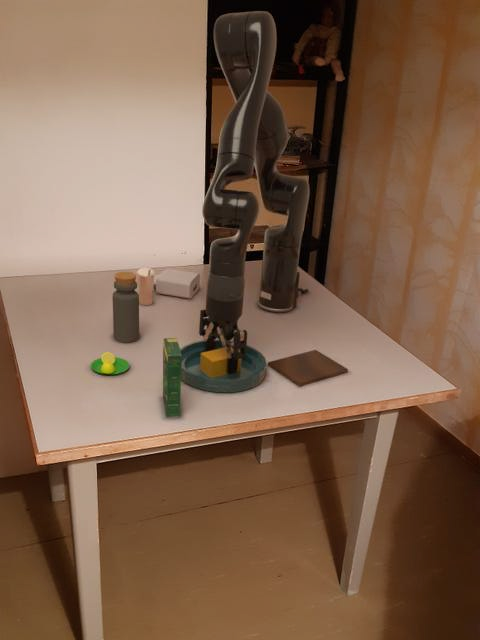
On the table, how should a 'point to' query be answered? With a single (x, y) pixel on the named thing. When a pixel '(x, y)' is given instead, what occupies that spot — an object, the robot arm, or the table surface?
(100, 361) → the lemons on green plate
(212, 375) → the block
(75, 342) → the table surface
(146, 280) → the milkshake
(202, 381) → the teal plate
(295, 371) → the board
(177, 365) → the coffee box
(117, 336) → the bottle
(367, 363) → the table surface
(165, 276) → the charger
